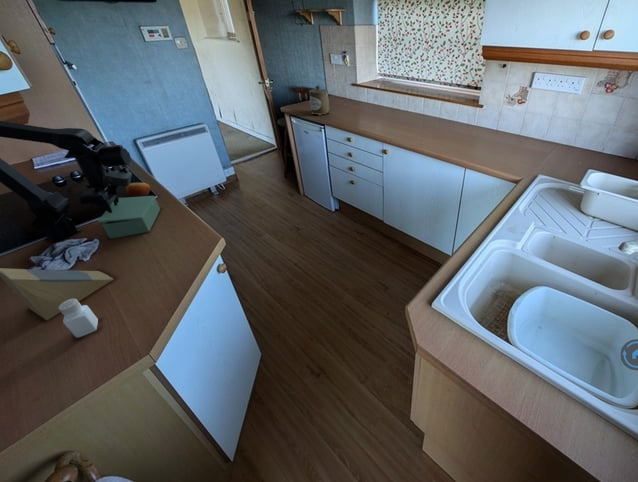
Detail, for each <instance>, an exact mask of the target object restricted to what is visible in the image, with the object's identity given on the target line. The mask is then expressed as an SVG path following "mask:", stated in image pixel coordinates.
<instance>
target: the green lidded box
mask: <svg viewBox="0 0 638 482" xmlns="http://www.w3.org/2000/svg"><path fill="white" fill-rule="evenodd" d="M160 211H161V208H160V206H159V203H158V201H157V199H156V197H154V199H153V201H152V203H151V204H150V206H149V208H148V210H147V211H146V213H145V215H144V217H143V219H133V220H122V221H110V222H103V224H102V227H103V230H104V231H105V233H106V234H107V236H108V238H109V239H116V238H122V237H128V236H133V235H138V234H145V233H149V232H150V231H151V229H152V227H153V225H154V223H155V221H156V219H157V217H158V215H159V213H160Z"/></svg>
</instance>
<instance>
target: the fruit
mask: <svg viewBox="0 0 638 482" xmlns="http://www.w3.org/2000/svg"><path fill="white" fill-rule="evenodd" d="M150 190H151V185H150V184H149V183H146V182H130V183H129V185H128V186H126V187H125V191H126V194H127V195H128V197H142V196H149V195H150V194H149V193H150Z"/></svg>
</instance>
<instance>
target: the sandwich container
mask: <svg viewBox="0 0 638 482" xmlns="http://www.w3.org/2000/svg"><path fill="white" fill-rule="evenodd" d="M0 278H1V279H2V280H3V282H5V283H6V284H7V286H9V288H10V289H11V290H12V291H13V292H14V293H15V294H16V296H18V297H19V298H20V300H22V302H23V303H24V304H25V305H26V306H27V307H28V308H29V309H30V310H31V311H32V312H34V313H35V314H36V315H38V316H39V317H41V318H42V319H44V320H45V321H49V320H50V319H52V318H54V317H55V316H57V315H59V314H61V311H60V310H59V308H58V307H59V306H60V304H62V303H63V302H64V301H67V300H69V299H77V300H78V302H81V301H82V300H83V299H85V298H86V297H88V296H90V295H92V294H93V293H94V292H96V291H98V290H100V289H101V288H102V287H104V286H106V285H108V284H109V283H111V282H112V281H114V278H113V277H112V276H110V275H108V274H106V273H104V272H102V271H100V270H69V269H68V270H67V269H31V268H29V269H28V268H4V267H3V268H1V267H0Z"/></svg>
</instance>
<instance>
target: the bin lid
mask: <svg viewBox="0 0 638 482" xmlns="http://www.w3.org/2000/svg"><path fill="white" fill-rule="evenodd" d="M116 197H117V195H115V194H111V196H110V197H109V198H108V199H109V202H110V205H111V208H112V212H107V211H106V210H104V211H105V212H104V213H103V214H102V216H100V218H99V219H98V221H97V222H98V223H104V222H110V221H122V220H133V219H143V217H144V215H145V213H146V211H147V210H148V208H149V206H150V204H151V203H152V201H153V199H154V197H155V195H147V196H142V197H130V196H128V197H118V199H119V202H118V203H117V201H116ZM155 198H156V197H155Z"/></svg>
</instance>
